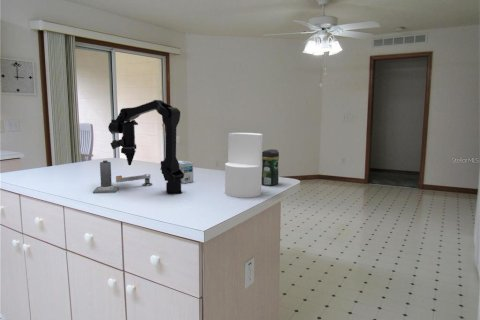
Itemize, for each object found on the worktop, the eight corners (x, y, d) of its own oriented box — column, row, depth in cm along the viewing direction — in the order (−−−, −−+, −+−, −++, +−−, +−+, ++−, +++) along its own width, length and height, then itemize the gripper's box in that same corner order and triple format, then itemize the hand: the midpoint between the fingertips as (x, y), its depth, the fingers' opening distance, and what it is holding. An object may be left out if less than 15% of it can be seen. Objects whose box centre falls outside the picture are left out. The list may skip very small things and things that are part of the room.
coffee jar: (267, 181, 190) (268, 148, 187) (280, 183, 186) (281, 149, 183) (258, 184, 182) (259, 149, 179) (272, 186, 178) (273, 151, 175)
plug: (114, 187, 168) (113, 160, 166) (109, 189, 163) (107, 161, 161) (103, 186, 169) (102, 159, 167) (97, 189, 163) (96, 161, 161)
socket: (118, 187, 172) (118, 185, 172) (115, 192, 162) (115, 190, 162) (97, 188, 170) (97, 186, 170) (93, 193, 160) (92, 191, 160)
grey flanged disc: (150, 183, 182) (149, 177, 181) (154, 185, 178) (153, 178, 177) (140, 184, 179) (140, 178, 178) (144, 186, 175) (144, 179, 174)
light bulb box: (193, 182, 187) (193, 162, 185) (183, 183, 182) (183, 163, 180) (181, 179, 194) (181, 160, 192) (171, 180, 189) (171, 161, 188)
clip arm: (148, 177, 180) (148, 171, 179) (151, 178, 177) (151, 172, 177) (115, 181, 168) (115, 175, 168) (118, 182, 166) (117, 176, 165)
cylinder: (237, 187, 176) (237, 132, 172) (267, 191, 168) (268, 133, 163) (217, 194, 162) (218, 134, 157) (250, 199, 153) (251, 136, 149)
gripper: (113, 132, 177) (114, 162, 180) (109, 135, 159) (110, 169, 162) (136, 132, 180) (136, 162, 182) (134, 135, 162) (135, 168, 164)
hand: (129, 165), depth 173 cm, fingers closed
